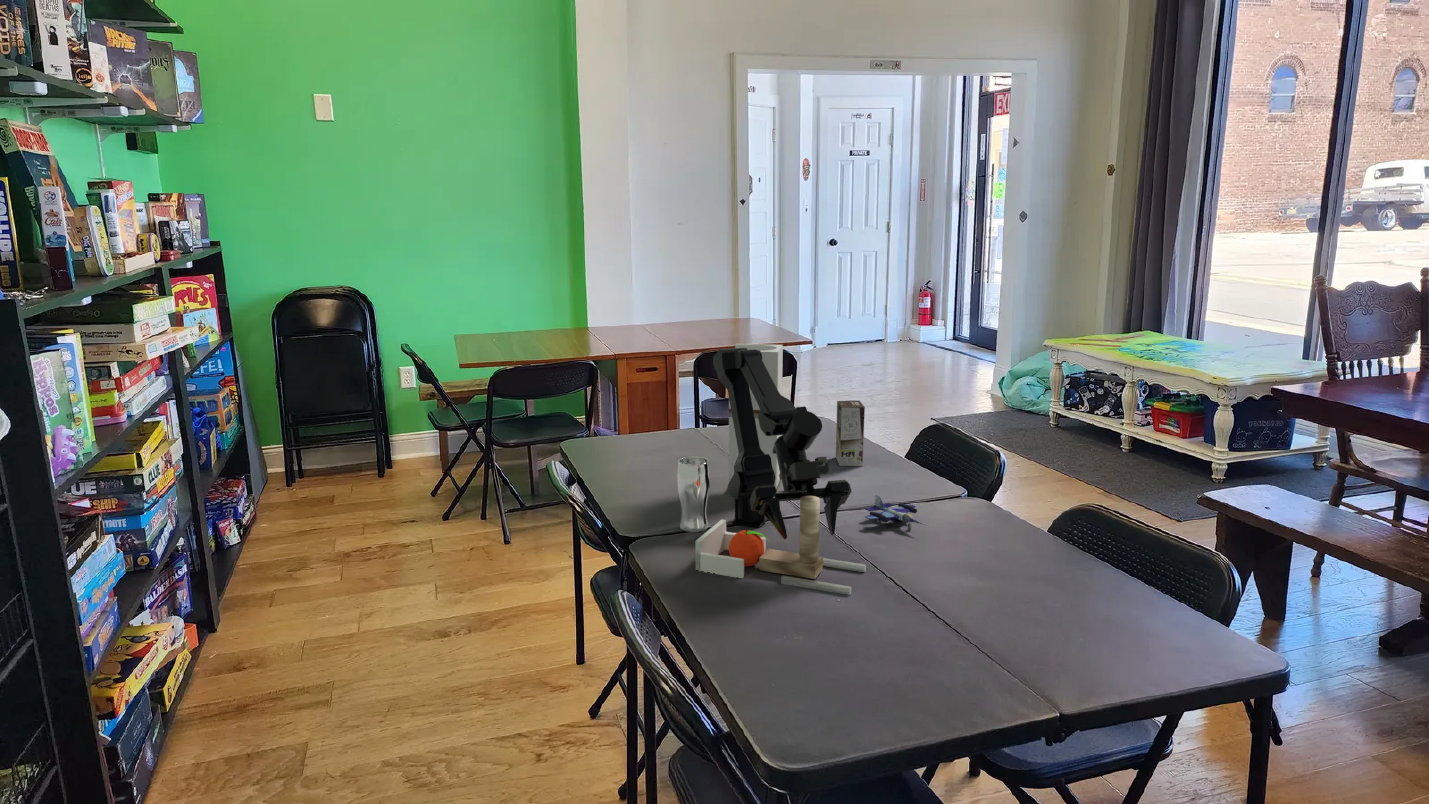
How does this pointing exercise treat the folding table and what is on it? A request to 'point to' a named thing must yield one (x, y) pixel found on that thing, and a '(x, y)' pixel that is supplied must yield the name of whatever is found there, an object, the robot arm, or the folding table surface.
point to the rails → (824, 585)
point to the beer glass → (693, 492)
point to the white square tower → (774, 365)
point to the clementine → (747, 546)
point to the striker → (808, 556)
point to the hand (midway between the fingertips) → (809, 536)
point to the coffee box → (850, 433)
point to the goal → (712, 546)
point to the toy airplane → (892, 512)
